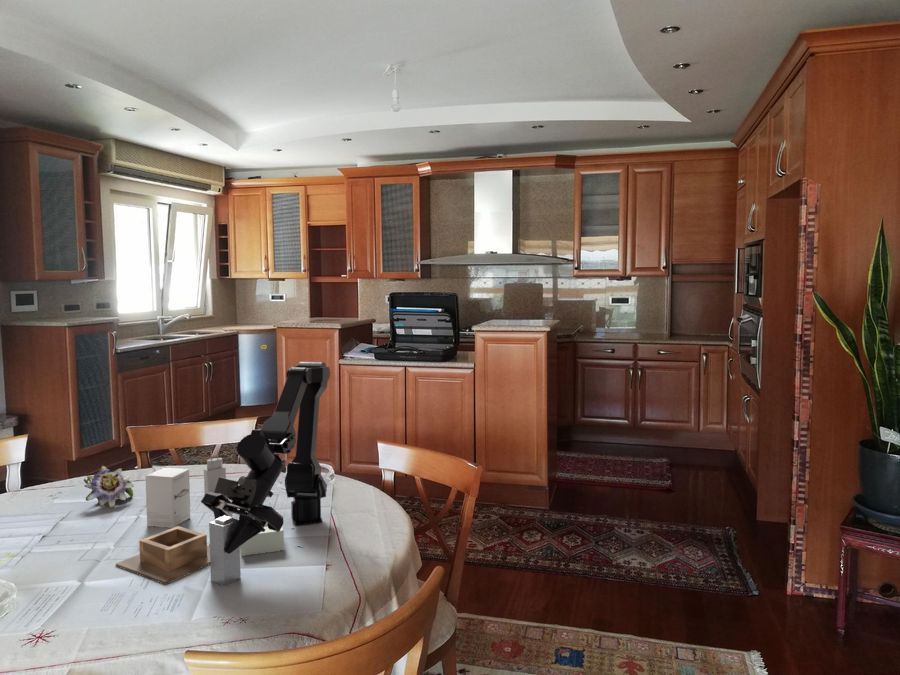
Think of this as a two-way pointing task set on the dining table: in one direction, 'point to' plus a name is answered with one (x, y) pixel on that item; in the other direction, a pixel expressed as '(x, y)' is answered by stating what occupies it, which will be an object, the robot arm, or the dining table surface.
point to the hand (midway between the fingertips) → (219, 550)
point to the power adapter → (213, 473)
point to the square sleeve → (170, 555)
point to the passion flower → (108, 486)
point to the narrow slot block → (264, 542)
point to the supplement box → (168, 497)
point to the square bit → (223, 551)
